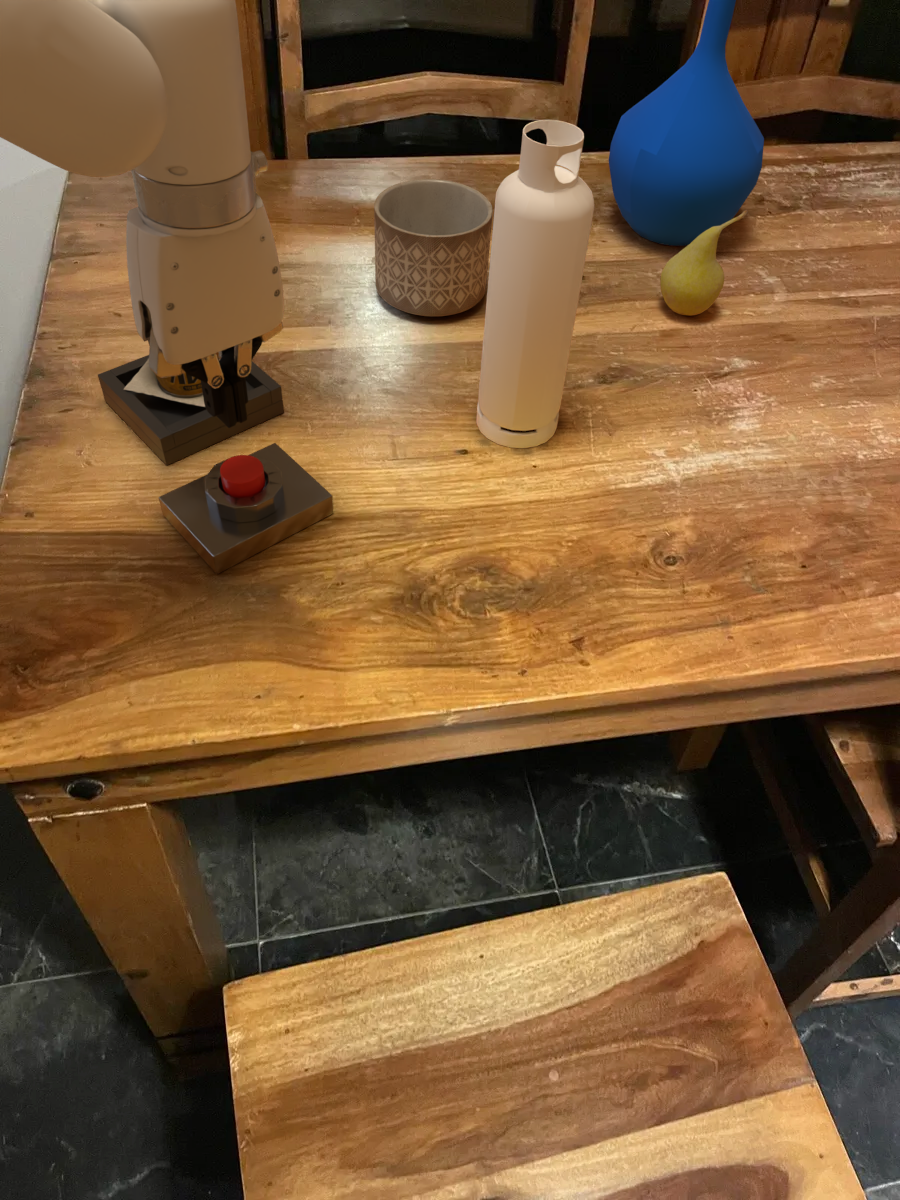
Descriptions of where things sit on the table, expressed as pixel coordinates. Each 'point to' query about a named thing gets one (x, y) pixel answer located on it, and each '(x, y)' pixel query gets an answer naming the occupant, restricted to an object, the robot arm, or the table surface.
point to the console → (246, 510)
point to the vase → (688, 146)
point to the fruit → (695, 274)
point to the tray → (184, 412)
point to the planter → (432, 246)
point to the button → (242, 476)
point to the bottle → (534, 287)
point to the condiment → (168, 386)
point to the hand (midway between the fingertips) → (228, 415)
